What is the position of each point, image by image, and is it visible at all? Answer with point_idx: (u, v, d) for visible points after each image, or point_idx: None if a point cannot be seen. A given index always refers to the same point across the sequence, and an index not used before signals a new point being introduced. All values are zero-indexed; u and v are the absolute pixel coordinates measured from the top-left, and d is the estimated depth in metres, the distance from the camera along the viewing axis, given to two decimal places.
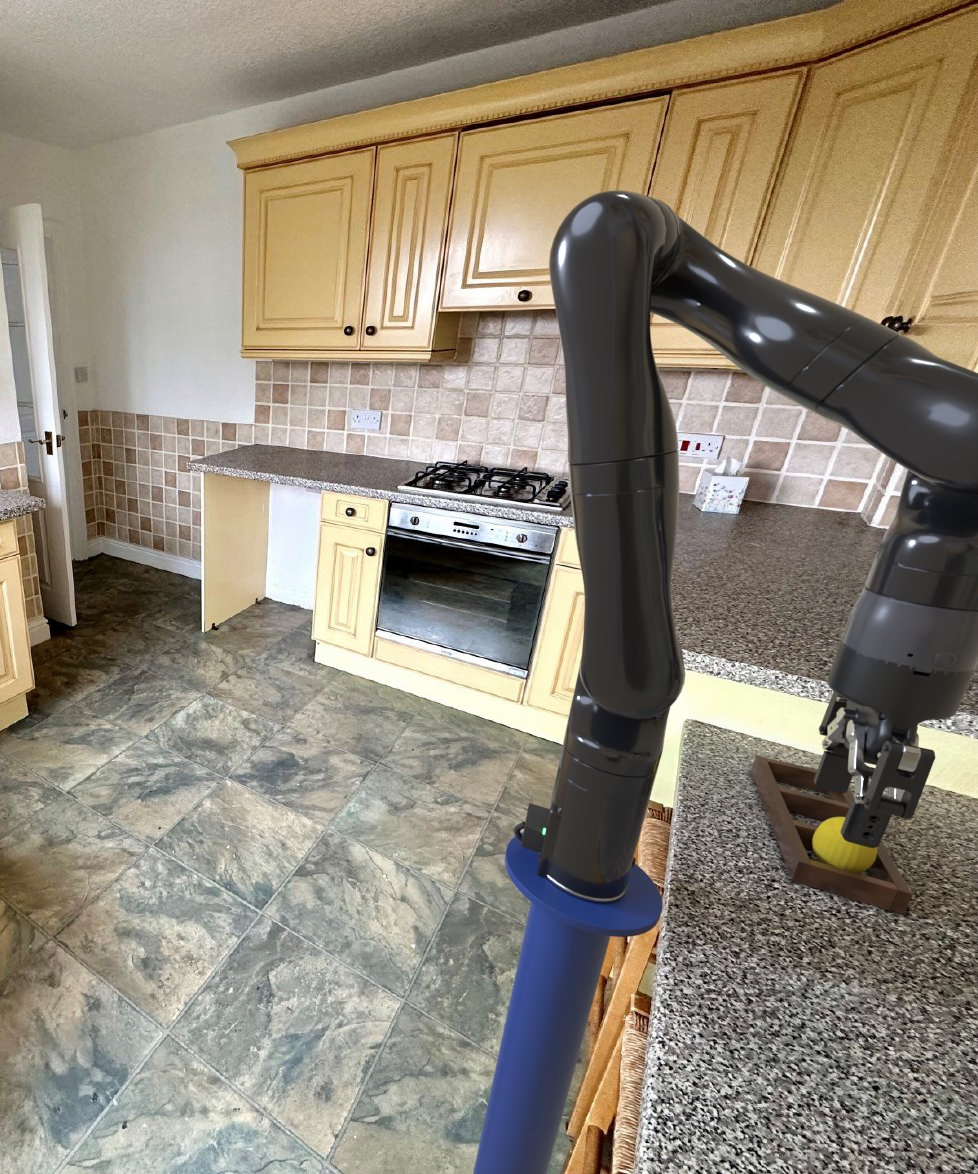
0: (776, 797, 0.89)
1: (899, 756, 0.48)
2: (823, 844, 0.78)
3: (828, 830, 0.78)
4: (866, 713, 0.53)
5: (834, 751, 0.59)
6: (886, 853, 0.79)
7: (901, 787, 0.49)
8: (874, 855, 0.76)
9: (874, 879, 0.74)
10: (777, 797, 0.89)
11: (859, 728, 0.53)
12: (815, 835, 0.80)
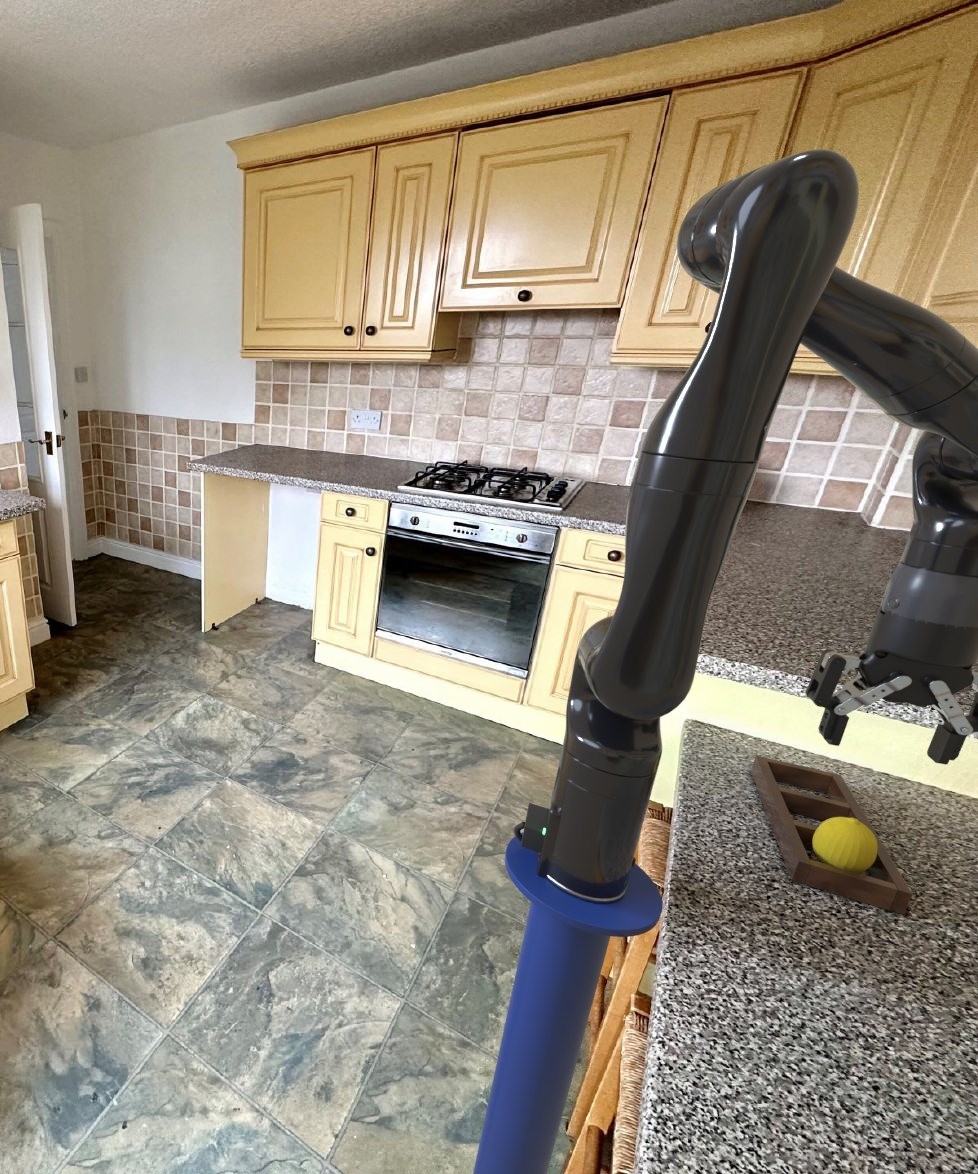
0: (776, 797, 0.89)
1: (823, 656, 0.69)
2: (823, 844, 0.78)
3: (828, 830, 0.78)
4: None
5: (944, 723, 0.66)
6: (886, 853, 0.79)
7: (817, 679, 0.69)
8: (874, 855, 0.76)
9: (874, 879, 0.74)
10: (777, 797, 0.89)
11: None
12: (815, 835, 0.80)
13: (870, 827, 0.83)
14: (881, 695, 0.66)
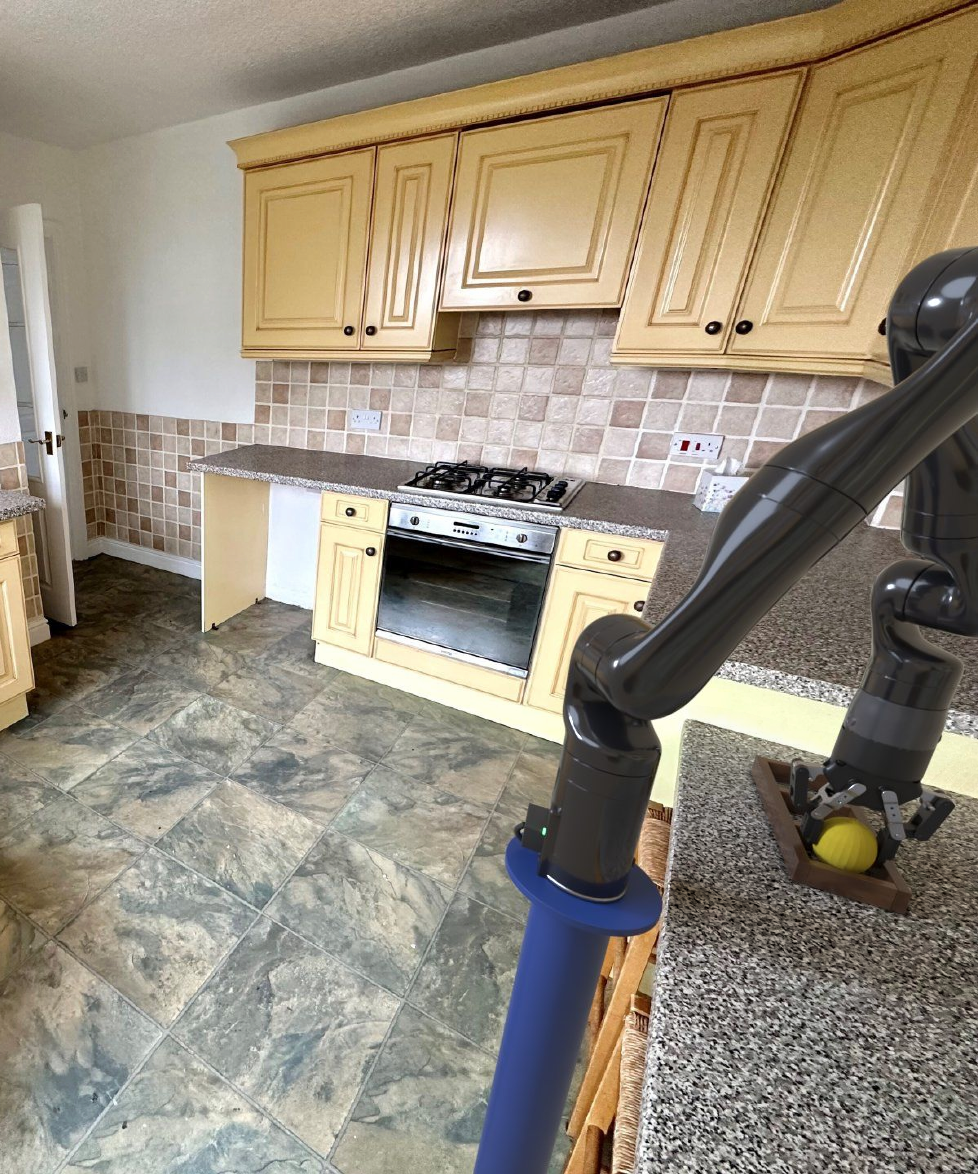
0: (776, 797, 0.89)
1: (792, 765, 0.80)
2: (823, 844, 0.78)
3: (828, 830, 0.78)
4: None
5: (884, 828, 0.76)
6: None
7: (792, 785, 0.80)
8: (874, 855, 0.76)
9: (874, 879, 0.74)
10: (777, 797, 0.89)
11: None
12: None
13: (870, 827, 0.83)
14: (845, 800, 0.76)
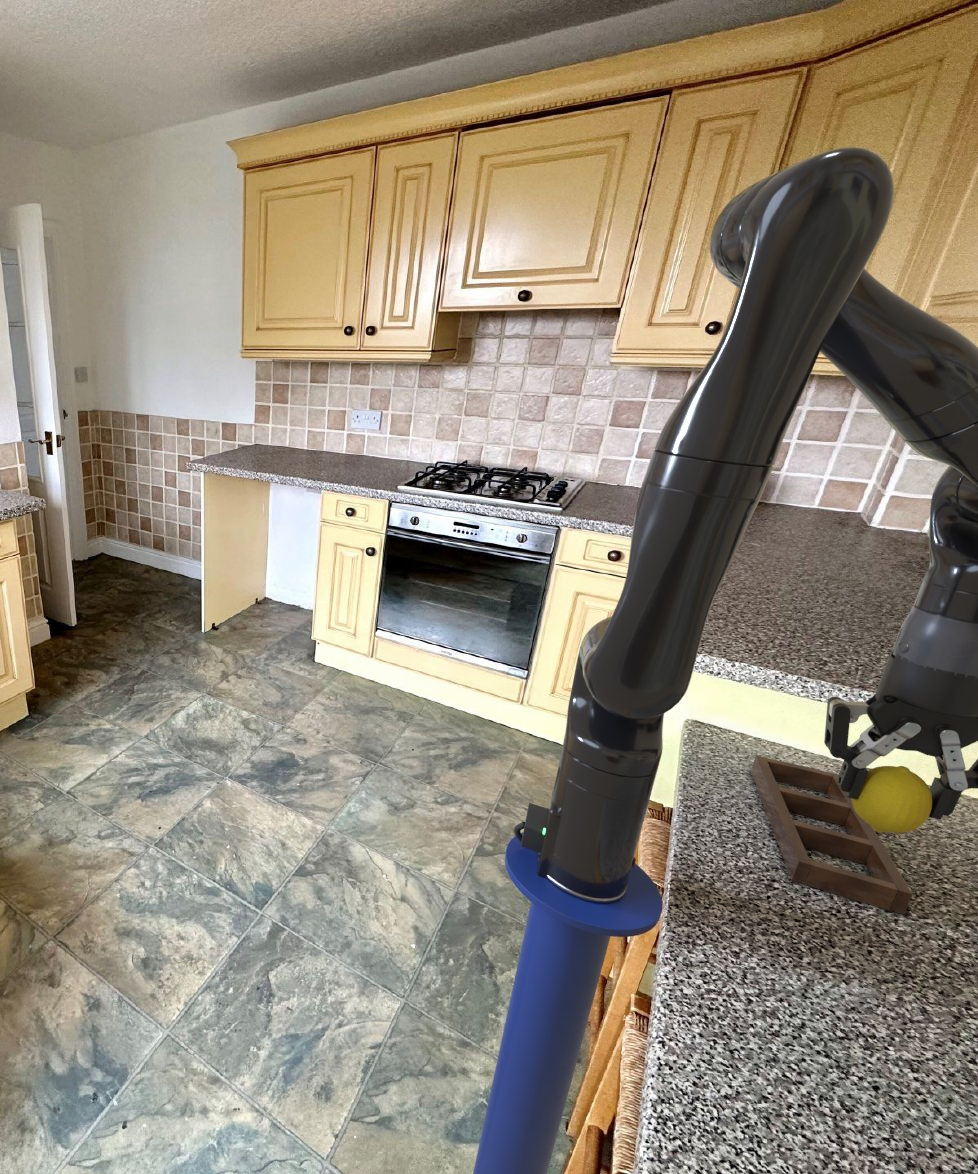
0: (776, 797, 0.89)
1: (829, 705, 0.67)
2: (867, 798, 0.66)
3: (872, 781, 0.66)
4: None
5: (940, 777, 0.64)
6: (886, 853, 0.79)
7: (829, 729, 0.67)
8: (929, 809, 0.63)
9: (874, 879, 0.74)
10: (777, 797, 0.89)
11: None
12: None
13: (870, 827, 0.83)
14: (894, 744, 0.63)
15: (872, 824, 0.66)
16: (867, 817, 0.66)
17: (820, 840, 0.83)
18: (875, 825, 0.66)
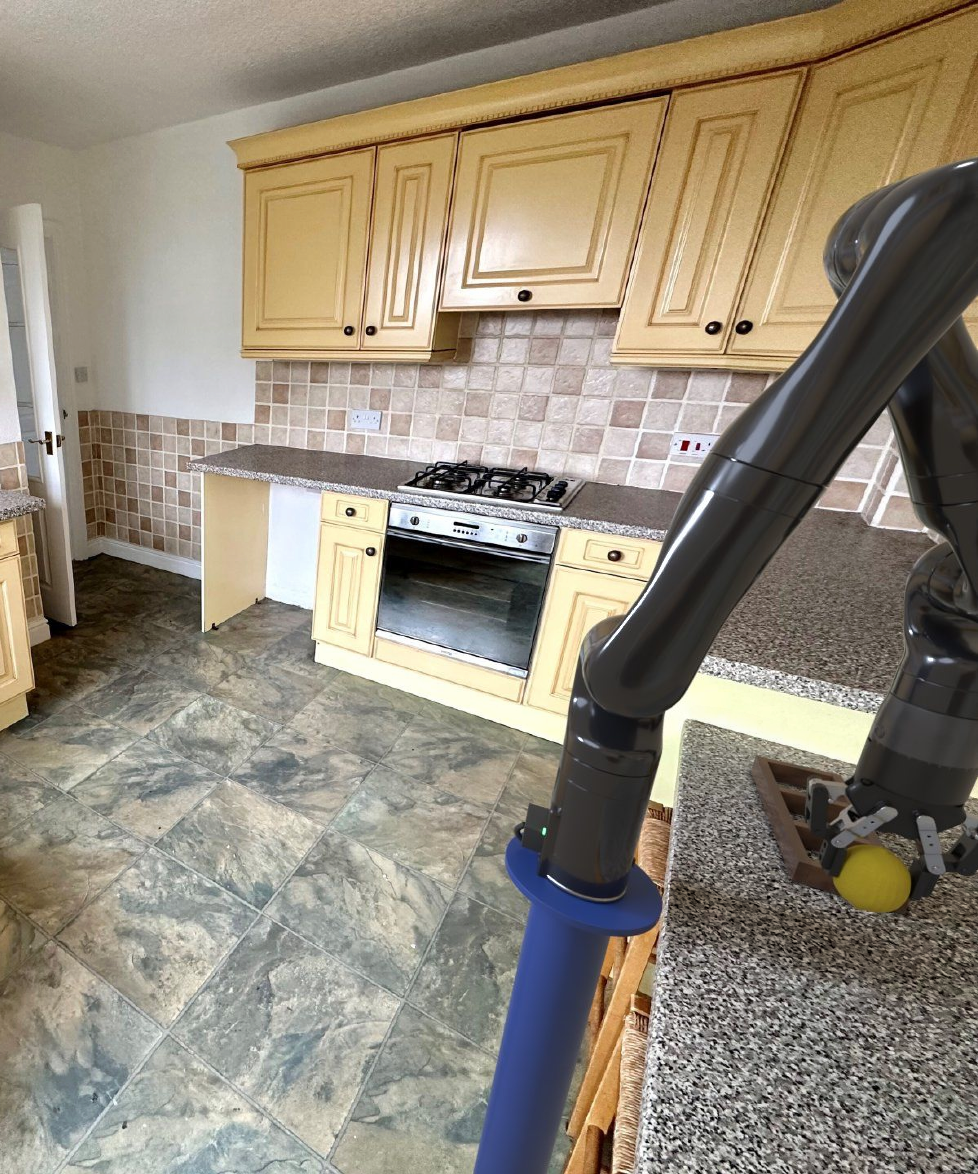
0: (776, 797, 0.89)
1: (808, 784, 0.68)
2: (846, 877, 0.66)
3: (851, 860, 0.66)
4: None
5: (919, 859, 0.64)
6: None
7: (808, 807, 0.68)
8: (907, 891, 0.64)
9: None
10: (777, 797, 0.89)
11: None
12: None
13: None
14: (872, 826, 0.64)
15: (852, 903, 0.67)
16: (847, 896, 0.67)
17: (820, 840, 0.83)
18: (855, 904, 0.66)
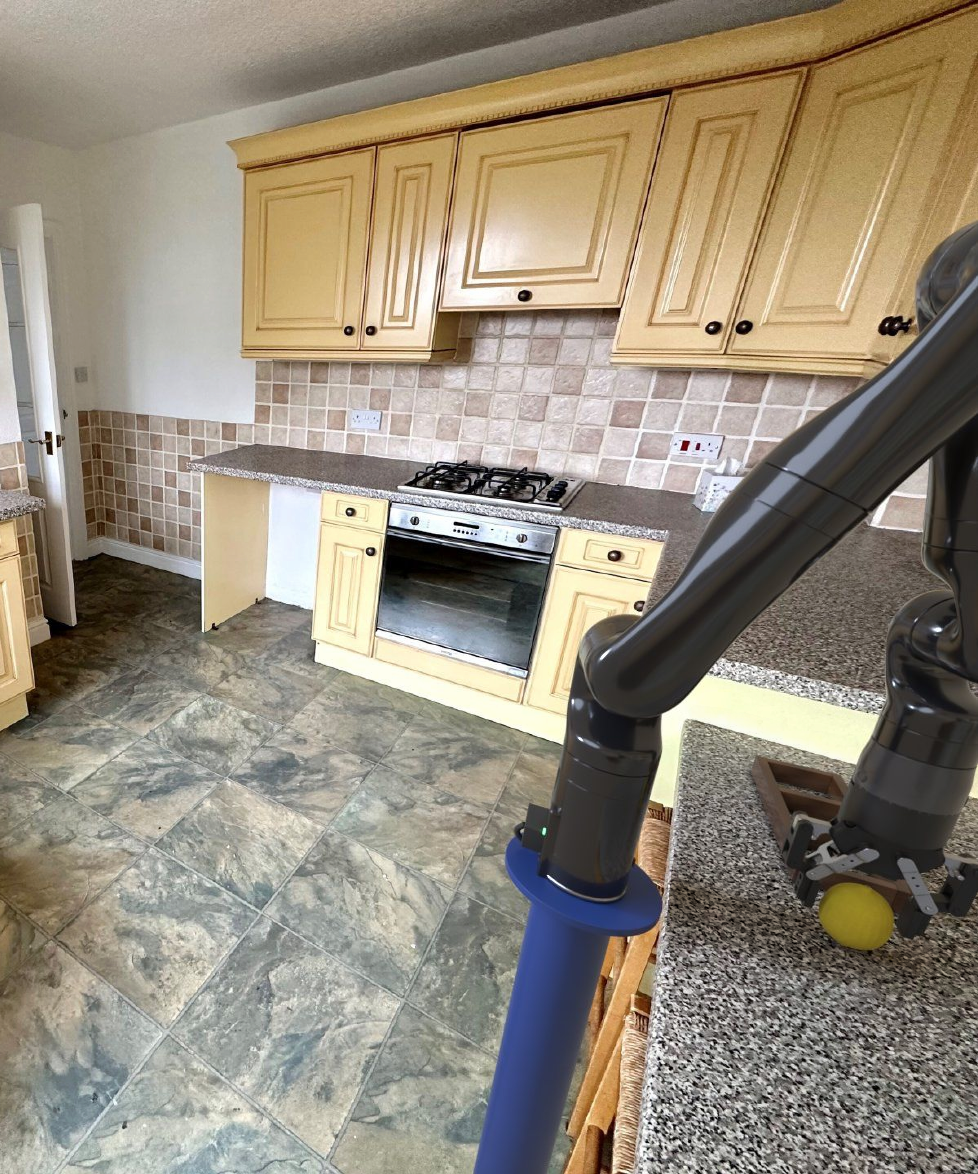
0: (776, 797, 0.89)
1: (793, 818, 0.69)
2: (831, 915, 0.68)
3: (836, 898, 0.68)
4: None
5: (912, 898, 0.66)
6: None
7: (789, 840, 0.69)
8: (890, 930, 0.65)
9: (874, 879, 0.74)
10: (777, 797, 0.89)
11: None
12: (821, 903, 0.69)
13: None
14: (850, 865, 0.66)
15: (837, 940, 0.68)
16: (832, 933, 0.68)
17: (820, 840, 0.83)
18: (840, 941, 0.68)
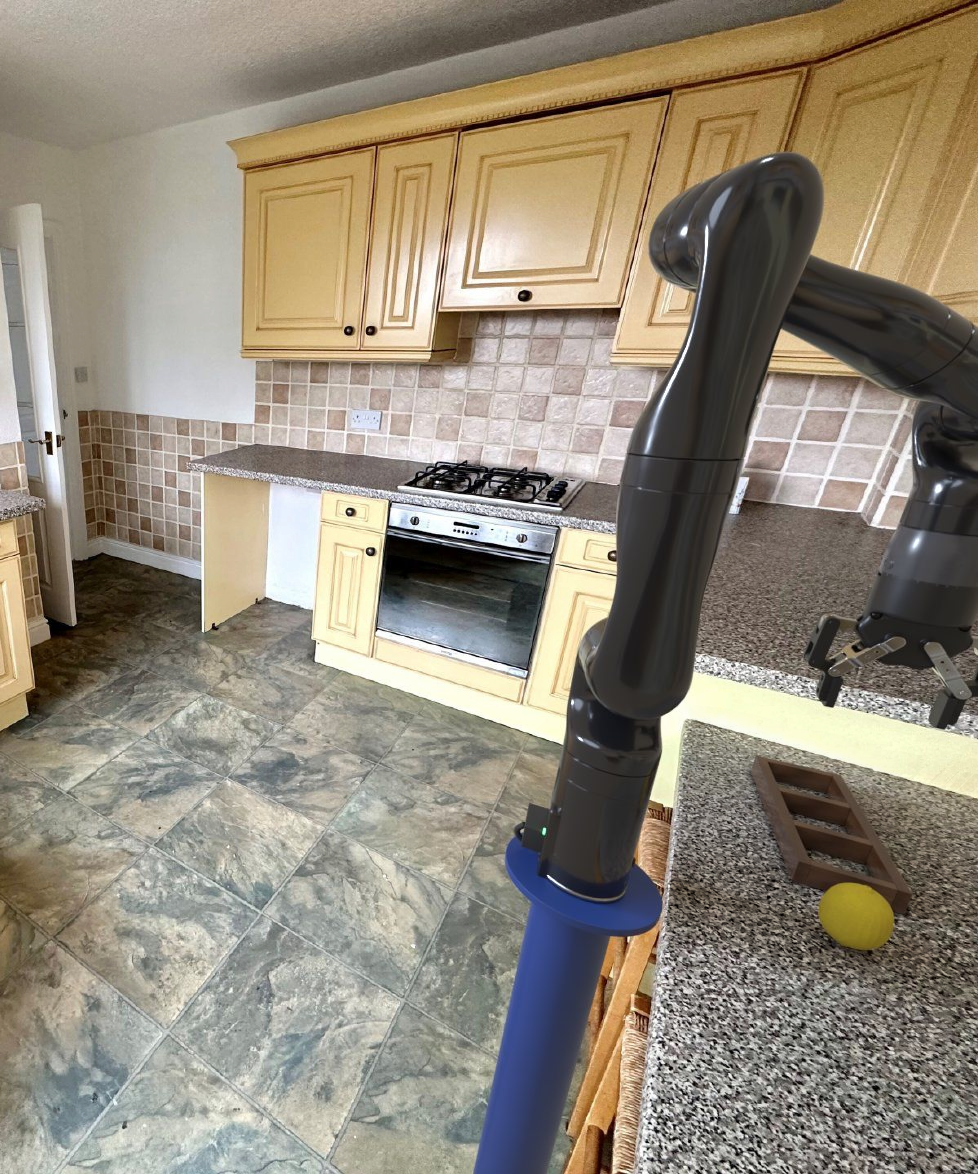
0: (776, 797, 0.89)
1: (820, 618, 0.70)
2: (831, 915, 0.68)
3: (836, 898, 0.68)
4: None
5: (945, 688, 0.66)
6: (886, 853, 0.79)
7: (813, 640, 0.70)
8: (890, 930, 0.65)
9: (874, 879, 0.74)
10: (777, 797, 0.89)
11: None
12: (821, 903, 0.69)
13: (870, 827, 0.83)
14: (875, 656, 0.66)
15: (837, 940, 0.68)
16: (832, 933, 0.68)
17: (820, 840, 0.83)
18: (840, 941, 0.68)
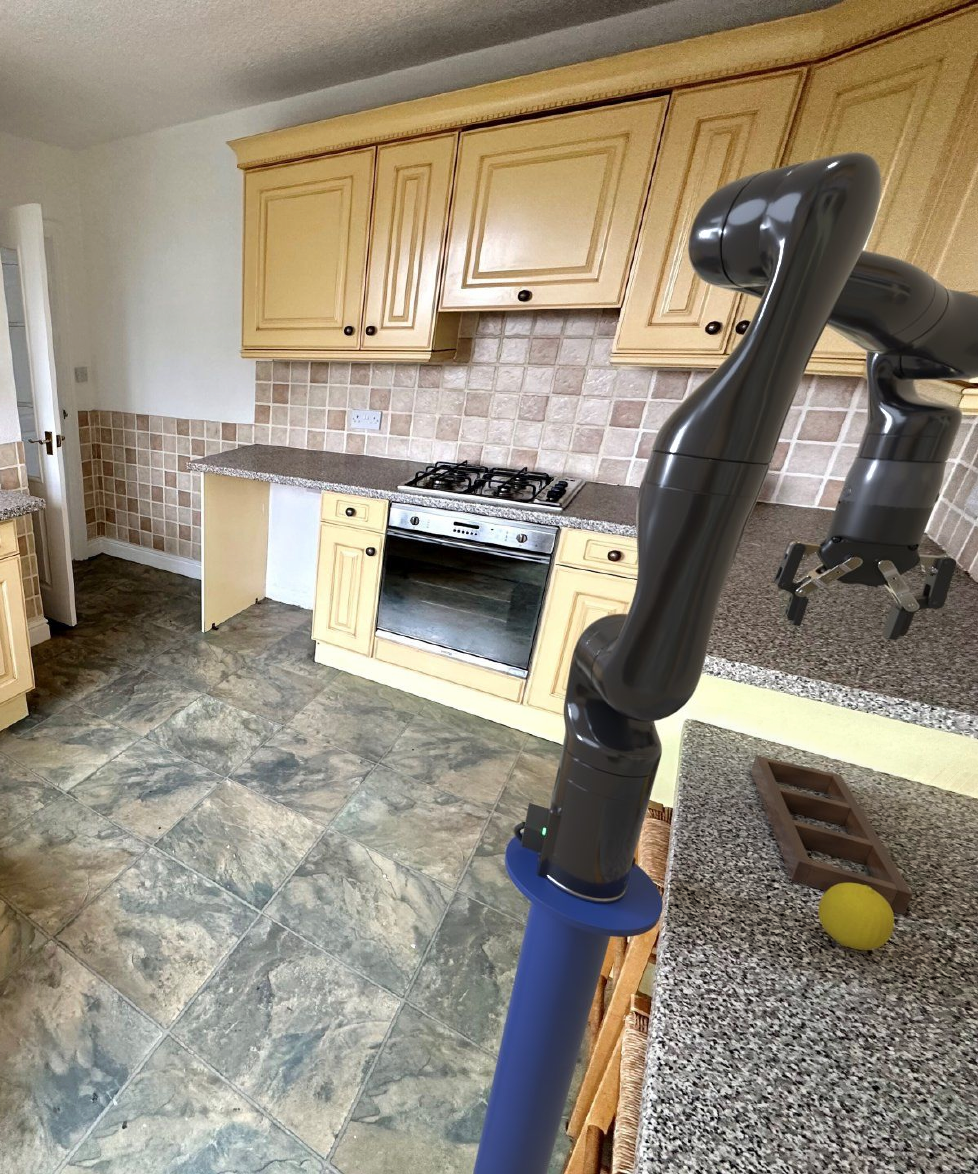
0: (776, 797, 0.89)
1: (788, 546, 0.78)
2: (831, 915, 0.68)
3: (836, 898, 0.68)
4: None
5: (897, 604, 0.74)
6: (886, 853, 0.79)
7: (782, 566, 0.78)
8: (890, 930, 0.65)
9: (874, 879, 0.74)
10: (777, 797, 0.89)
11: None
12: (821, 903, 0.69)
13: (870, 827, 0.83)
14: (836, 576, 0.75)
15: (837, 940, 0.68)
16: (832, 933, 0.68)
17: (820, 840, 0.83)
18: (840, 941, 0.68)
